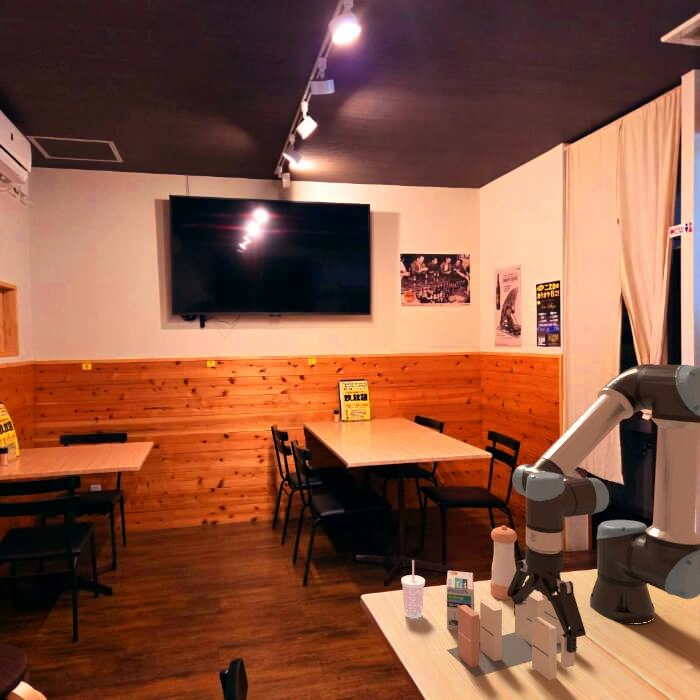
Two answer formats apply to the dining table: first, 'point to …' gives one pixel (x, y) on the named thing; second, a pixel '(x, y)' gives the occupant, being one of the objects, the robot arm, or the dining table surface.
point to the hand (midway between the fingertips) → (542, 649)
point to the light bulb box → (458, 595)
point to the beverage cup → (413, 594)
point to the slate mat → (512, 655)
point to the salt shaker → (503, 561)
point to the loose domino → (544, 648)
